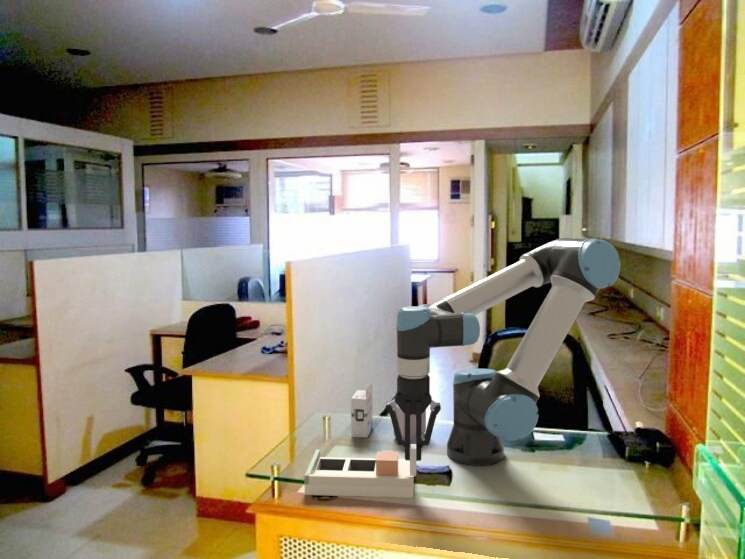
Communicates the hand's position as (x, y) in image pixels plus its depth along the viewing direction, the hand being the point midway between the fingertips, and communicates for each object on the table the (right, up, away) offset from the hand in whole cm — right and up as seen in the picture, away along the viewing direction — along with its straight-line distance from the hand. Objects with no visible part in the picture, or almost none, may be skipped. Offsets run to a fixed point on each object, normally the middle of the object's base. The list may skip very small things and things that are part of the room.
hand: (413, 473), depth 127 cm
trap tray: (-12, -4, +5) cm, 14 cm away
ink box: (-13, -1, +36) cm, 38 cm away
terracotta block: (-6, -1, +2) cm, 6 cm away
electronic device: (+1, -1, +33) cm, 33 cm away
